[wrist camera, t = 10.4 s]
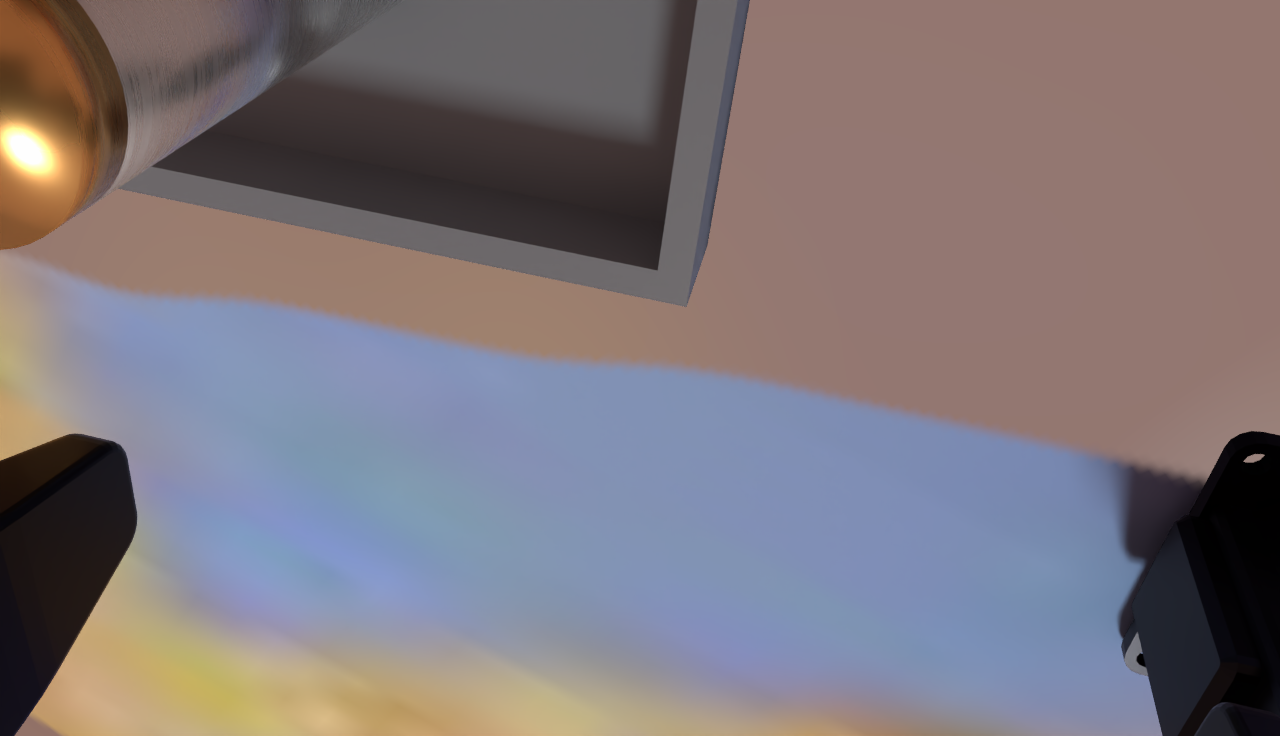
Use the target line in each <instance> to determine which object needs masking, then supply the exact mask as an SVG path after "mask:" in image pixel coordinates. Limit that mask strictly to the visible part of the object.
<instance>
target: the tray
mask: <svg viewBox="0 0 1280 736" xmlns="http://www.w3.org/2000/svg"><path fill="white" fill-rule="evenodd" d="M749 1H750V0H404V1H403V2H401V3H400V4H398V5H397V6H395V7H394V8H392V9H391V10H389V11H388V12H386V13H384V14H383V15H381V16H380V17H378V18H377V19H375V20H374V21H372V22H371V23H369V24H368V25H366V26H365V27H363V28H362V29H360V30H359V31H357V32H356V33H354V34H352V35H351V36H349V37H348V38H346V39H345V40H343V41H342V42H340V43H339V44H337V45H336V46H334V47H333V48H331V49H330V50H328V51H327V52H325V53H323V54H322V55H320V56H319V57H317V58H316V59H314V60H313V61H311V62H310V63H308V64H307V65H305V66H304V67H302V68H301V69H299V70H298V71H296V72H295V73H293V74H291V75H290V76H288V77H287V78H285V79H284V80H282V81H281V82H279V83H278V84H276V85H275V86H273V87H272V88H270V89H269V90H267V91H266V92H264V93H262V94H261V95H259V96H258V97H256V98H255V99H253V100H252V101H250V102H249V103H247V104H246V105H244V106H243V107H241V108H240V109H238V110H237V111H235V112H233V113H232V114H230V115H229V116H227V117H226V118H224V119H223V120H221V121H220V122H218V123H217V124H215V125H214V126H212V127H211V128H209V129H208V130H206V131H205V132H203V133H201V134H200V135H198V136H197V137H195V138H194V139H192V140H191V141H189V142H188V143H186V144H185V145H183V146H182V147H180V148H179V149H177V150H176V151H174V152H172V153H171V154H169V155H168V156H166V157H165V158H163V159H162V160H160V161H159V162H157V163H156V164H154V165H153V166H151V167H150V168H148V169H147V170H145V171H144V172H142V173H140V174H139V175H137V176H136V177H134V178H133V179H131V180H130V181H128V182H127V183H125V184H124V185H122V186H121V187H119V188H118V189H123V190H128V191H132V192H137V193H142V194H147V195H152V196H156V197H161V198H166V199H171V200H176V201H180V202H185V203H190V204H195V205H200V206H204V207H209V208H214V209H219V210H224V211H228V212H233V213H238V214H243V215H248V216H252V217H257V218H262V219H267V220H272V221H277V222H282V223H286V224H291V225H296V226H301V227H305V228H310V229H315V230H320V231H325V232H330V233H334V234H339V235H344V236H348V237H353V238H358V239H363V240H368V241H373V242H377V243H382V244H387V245H392V246H396V247H402V248H406V249H411V250H416V251H421V252H426V253H430V254H435V255H440V256H445V257H449V258H454V259H459V260H464V261H469V262H474V263H478V264H483V265H488V266H493V267H497V268H502V269H507V270H512V271H517V272H521V273H526V274H531V275H536V276H541V277H545V278H551V279H555V280H560V281H565V282H569V283H574V284H580V285H584V286H589V287H594V288H598V289H604V290H608V291H613V292H618V293H623V294H627V295H632V296H637V297H642V298H647V299H652V300H656V301H661V302H666V303H671V304H676V305H680V306H687V303H688V300H689V297H690V294H691V292H692V289H693V286H694V283H695V280H696V277H697V274H698V271H699V268H700V265H701V262H702V259H703V256H704V254H705V250H706V247H707V244H708V238H709V232H710V227H711V220H712V215H713V209H714V203H715V198H716V192H717V186H718V180H719V174H720V169H721V163H722V157H723V151H724V145H725V139H726V134H727V128H728V123H729V117H730V110H731V105H732V99H733V94H734V88H735V82H736V76H737V70H738V64H739V59H740V53H741V47H742V42H743V36H744V30H745V24H746V19H747V13H748V7H749Z"/></svg>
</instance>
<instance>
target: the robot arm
mask: <svg viewBox="0 0 1280 736" xmlns="http://www.w3.org/2000/svg"><path fill="white" fill-rule="evenodd" d="M1253 454H1264V455H1265V456H1264V457H1263V458H1262V459H1261V460H1259V461H1257V462H1254V463H1245V462H1243V461H1244V460H1245V459H1246V458H1247V457H1248V456H1251V455H1253ZM136 526H137V510H136V504H135V499H134V493H133V487H132V482H131V476H130V471H129V465H128V459H127V455H126V452H125V451H124V449H123V448H122V447H121V446H120V445H119V444H117V443H115V442H113V441H109V440H105V439H101V438H96V437H92V436H88V435H83V434H69V435H66V436H63V437H60V438H57V439H55V440H52V441H50V442H47V443H45V444H42V445H40V446H37V447H35V448H32V449H29V450H27V451H24V452H22V453H19V454H17V455H14V456H12V457H9V458H7V459H4V460H1V461H0V736H14V735H15V734H16V733H17V731H18V730H19V729H20V727H21V726H22V724H23V723H24V722H25V720H26V719H27V717H28V716H29V714H30V713H31V712H32V710H33V709H34V707H35V706H36V704H37V703H38V701H39V700H40V698H41V697H42V696H43V694H44V692H45V691H46V689H47V687H48V686H49V684H50V683H51V681H52V679H53V678H54V676H55V675H56V673H57V671H58V670H59V668H60V666H61V664H62V663H63V661H64V659H65V657H66V656H67V654H68V652H69V650H70V649H71V647H72V645H73V644H74V642H75V640H76V638H77V637H78V635H79V633H80V631H81V630H82V628H83V626H84V624H85V623H86V621H87V619H88V617H89V616H90V614H91V612H92V610H93V609H94V607H95V605H96V603H97V602H98V600H99V598H100V597H101V595H102V593H103V591H104V590H105V588H106V586H107V584H108V583H109V581H110V579H111V577H112V576H113V574H114V572H115V570H116V569H117V567H118V565H119V563H120V562H121V560H122V558H123V557H124V555H125V553H126V551H127V550H128V548H129V546H130V544H131V542H132V540H133V537H134V534H135V531H136ZM1132 611H1133V615H1134V620H1133V622H1132V624H1131V626H1130V627H1129V629H1128V631H1127V633H1126V635H1125V637H1124V639H1123V641H1122V646H1121V648H1122V652H1123V657H1124V661H1125V663H1126V666H1127V667H1128V668H1129V669H1130V670H1131V671H1133V672H1136V673H1138V674H1141V675H1145V676H1148V677H1149V681H1150V685H1151V689H1152V694H1153V698H1154V702H1155V706H1156V710H1157V714H1158V718H1159V723H1160V727H1161V731H1162V735H1163V736H1280V435H1275V434H1270V433H1265V432H1254V431H1251V432H1246V433H1242V434H1239V435H1238V436H1236V437H1235V438H1233V439H1231V440H1230V441H1229V442H1228V444H1227V445H1226V446H1225V448H1224V449H1223V451H1222V453H1221V455H1220V457H1219V459H1218V461H1217V463H1216V465H1215V466H1214V468H1213V470H1212V472H1211V474H1210V476H1209V478H1208V480H1207V482H1206V483H1205V485H1204V487H1203V489H1202V491H1201V493H1200V495H1199V497H1198V499H1197V501H1196V502H1195V504H1194V506H1193V508H1192V510H1191V512H1190V514H1189V515H1186V516H1184V517H1182V518H1181V519H1179V520H1178V521H1176V522H1175V523H1174V524H1173V526H1172V528H1171V530H1170V532H1169V534H1168V536H1167V538H1166V540H1165V542H1164V543H1163V545H1162V547H1161V549H1160V551H1159V553H1158V555H1157V557H1156V559H1155V561H1154V563H1153V565H1152V567H1151V568H1150V570H1149V572H1148V574H1147V576H1146V578H1145V580H1144V582H1143V584H1142V586H1141V588H1140V590H1139V592H1138V593H1137V595H1136V597H1135V599H1134V601H1133V603H1132ZM1141 652H1143V654H1141Z"/></svg>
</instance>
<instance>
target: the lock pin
mask: <svg viewBox="0 0 1280 736" xmlns="http://www.w3.org/2000/svg"><path fill="white" fill-rule="evenodd" d="M403 1H404V0H0V250H3V249H11V248H17V247H21V246H24V245H28V244H31V243H33V242H35V241H37V240H38V239H41V238H43V237H44V236H46V235H47V234H49V233H50V232H52V231H54V230H55V229H57V228H58V227H60V226H61V225H62V224H64V223H66V222H67V221H69V220H70V219H72V218H73V217H75V216H76V215H78V214H79V213H81V212H82V211H84V210H86V209H87V208H89V207H90V206H92V205H93V204H95V203H96V202H98V201H99V200H101V199H102V198H104V197H105V196H107V195H108V194H110V193H111V192H113V191H115V190H116V189H118V188H119V187H121V186H122V185H124V184H125V183H127V182H128V181H130V180H131V179H133V178H134V177H136V176H137V175H139V174H140V173H142V172H144V171H145V170H147V169H148V168H150V167H151V166H153V165H154V164H156V163H157V162H159V161H160V160H162V159H163V158H165V157H166V156H168V155H169V154H171V153H172V152H174V151H176V150H177V149H179V148H180V147H182V146H183V145H185V144H186V143H188V142H189V141H191V140H192V139H194V138H195V137H197V136H198V135H200V134H201V133H203V132H205V131H206V130H208V129H209V128H211V127H212V126H214V125H215V124H217V123H218V122H220V121H221V120H223V119H224V118H226V117H227V116H229V115H230V114H232V113H233V112H235V111H237V110H238V109H240V108H241V107H243V106H244V105H246V104H247V103H249V102H250V101H252V100H253V99H255V98H256V97H258V96H259V95H261V94H262V93H264V92H266V91H267V90H269V89H270V88H272V87H273V86H275V85H276V84H278V83H279V82H281V81H282V80H284V79H285V78H287V77H288V76H290V75H291V74H293V73H295V72H296V71H298V70H299V69H301V68H302V67H304V66H305V65H307V64H308V63H310V62H311V61H313V60H314V59H316V58H317V57H319V56H320V55H322V54H323V53H325V52H327V51H328V50H330V49H331V48H333V47H334V46H336V45H337V44H339V43H340V42H342V41H343V40H345V39H346V38H348V37H349V36H351V35H352V34H354V33H356V32H357V31H359V30H360V29H362V28H363V27H365V26H366V25H368V24H369V23H371V22H372V21H374V20H375V19H377V18H378V17H380V16H381V15H383V14H384V13H386V12H388V11H389V10H391V9H392V8H394V7H395V6H397V5H398V4H400V3H401V2H403Z"/></svg>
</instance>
